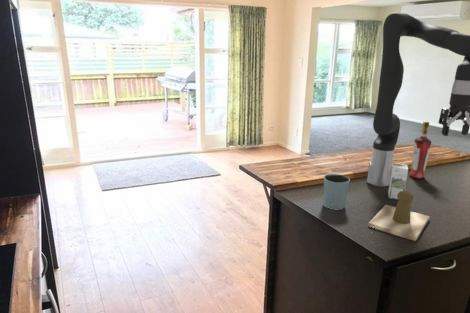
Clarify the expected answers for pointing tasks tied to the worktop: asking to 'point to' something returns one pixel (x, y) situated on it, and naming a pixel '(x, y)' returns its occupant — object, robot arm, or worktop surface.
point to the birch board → (388, 225)
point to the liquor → (420, 153)
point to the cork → (403, 207)
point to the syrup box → (397, 180)
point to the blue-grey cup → (335, 190)
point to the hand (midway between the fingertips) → (454, 135)
